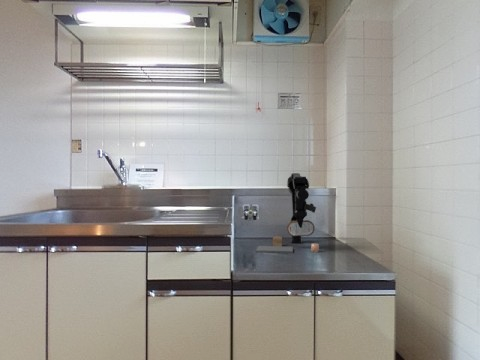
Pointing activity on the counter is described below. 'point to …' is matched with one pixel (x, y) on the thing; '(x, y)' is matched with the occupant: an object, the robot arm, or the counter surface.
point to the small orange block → (314, 247)
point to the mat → (274, 249)
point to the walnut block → (277, 241)
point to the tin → (297, 231)
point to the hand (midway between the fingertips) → (300, 227)
